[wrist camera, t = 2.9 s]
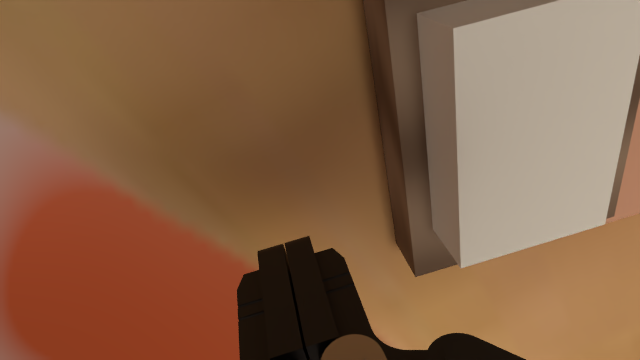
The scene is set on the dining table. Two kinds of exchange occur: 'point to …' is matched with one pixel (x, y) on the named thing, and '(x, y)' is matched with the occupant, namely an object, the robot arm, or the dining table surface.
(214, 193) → the dining table surface
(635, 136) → the terracotta mat
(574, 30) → the cream tile
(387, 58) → the walnut deck
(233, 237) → the dining table surface
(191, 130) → the dining table surface
